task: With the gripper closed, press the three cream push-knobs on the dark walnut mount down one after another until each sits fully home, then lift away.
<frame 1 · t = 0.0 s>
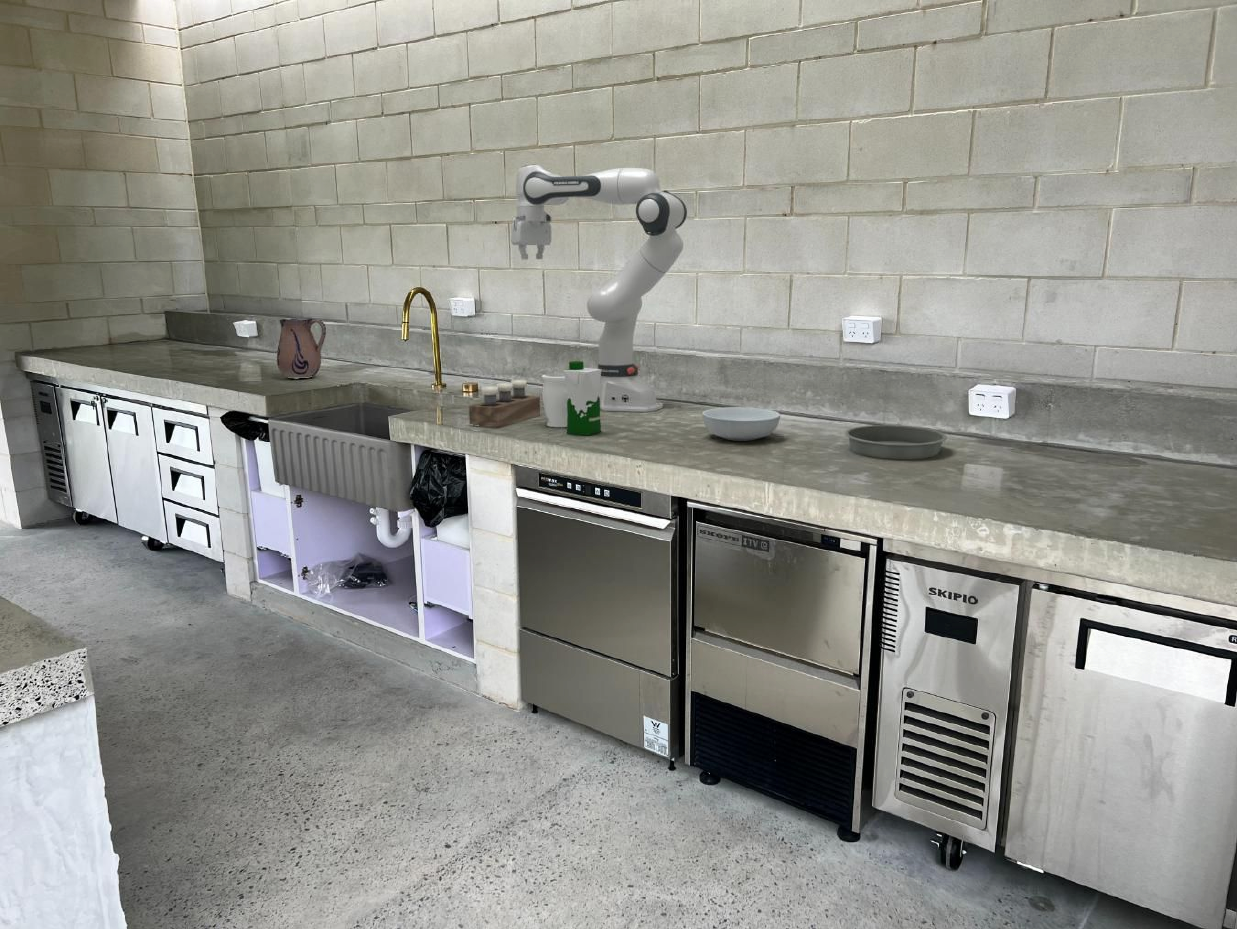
hand: (532, 259, 310), 48 cm above the worktop, tool pointing down, fingers open, 8 cm apart
milk carton: (584, 433, 263), on the worktop
ceramic pitcher: (305, 378, 393), on the worktop
knob middle: (505, 394, 283), point 8 cm above the worktop, slide at 3.0 cm
cake pan: (894, 451, 234), on the worktop
knob 1: (490, 398, 276), point 8 cm above the worktop, slide at 3.0 cm
white cup: (561, 426, 275), on the worktop
serving bowl: (740, 438, 253), on the worktop
knob mount: (506, 420, 285), on the worktop
knob 2: (519, 390, 290), point 8 cm above the worktop, slide at 3.0 cm
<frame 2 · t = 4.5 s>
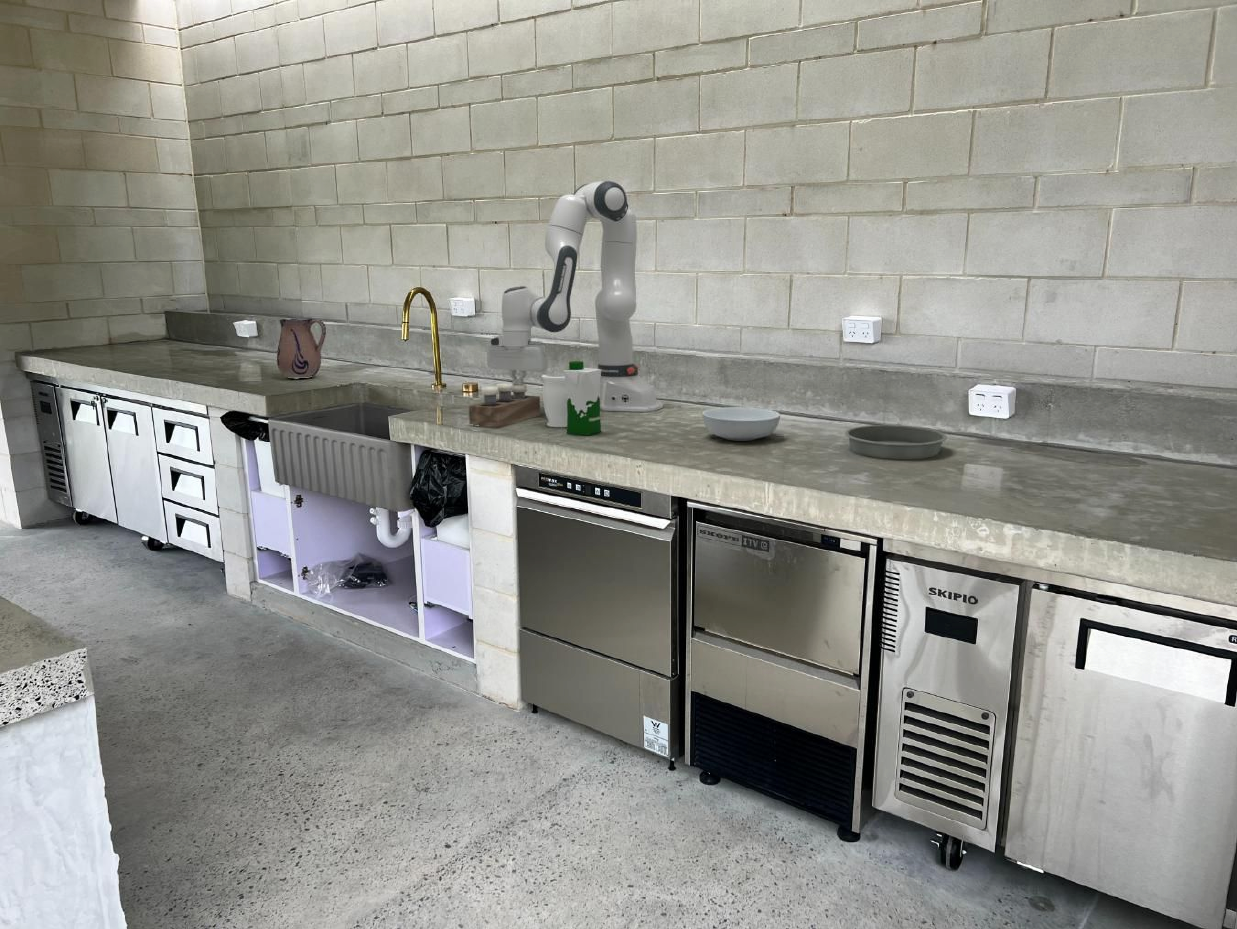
hand: (517, 384, 289), 10 cm above the worktop, tool pointing down, fingers closed
knob 2: (519, 395, 290), point 7 cm above the worktop, slide at 1.6 cm, touching gripper
everything else where it was.
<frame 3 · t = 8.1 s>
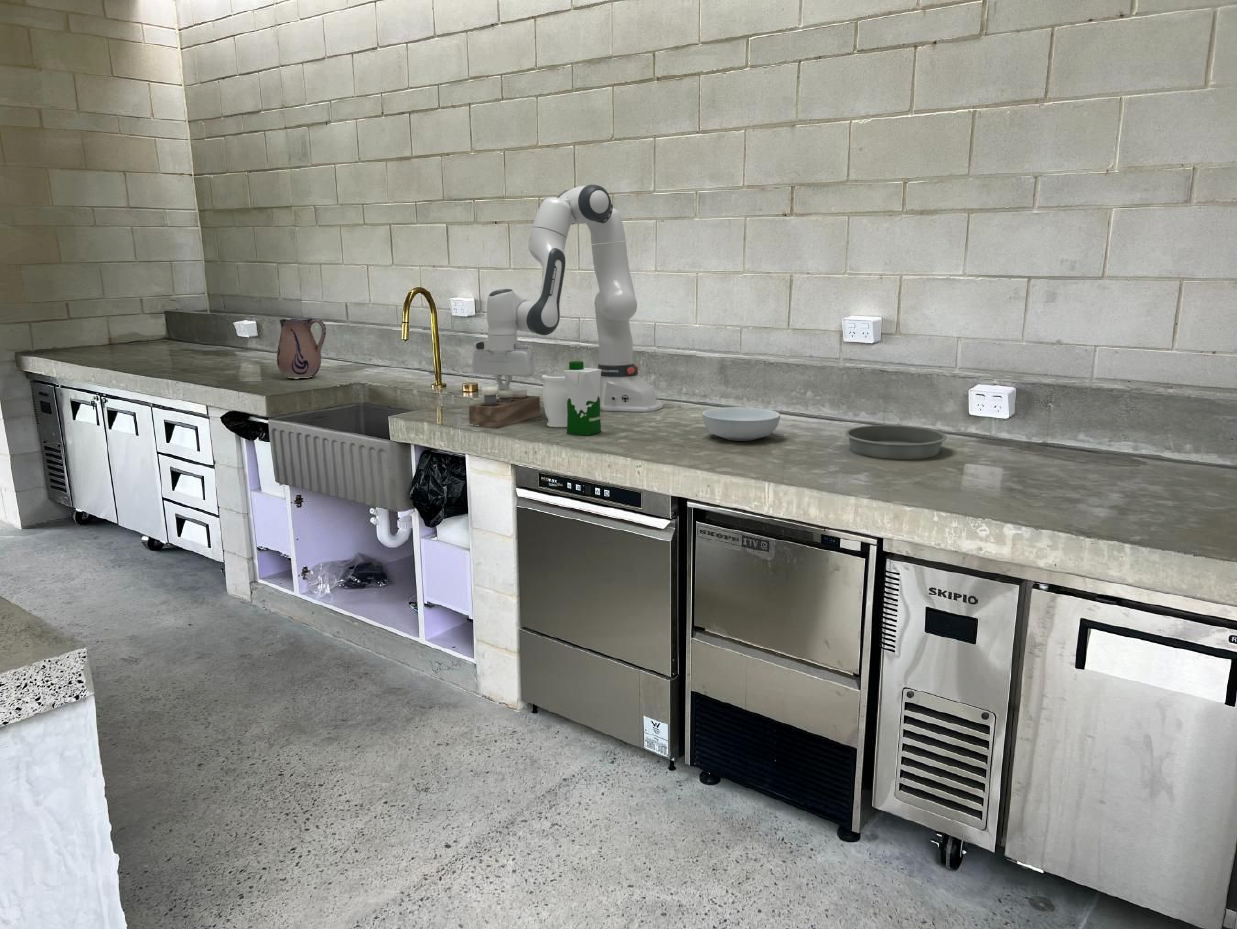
hand: (503, 389, 282), 9 cm above the worktop, tool pointing down, fingers closed
knob middle: (505, 400, 283), point 6 cm above the worktop, slide at 1.1 cm, touching gripper
knob 2: (519, 400, 290), point 5 cm above the worktop, slide at -0.1 cm
everything else where it was.
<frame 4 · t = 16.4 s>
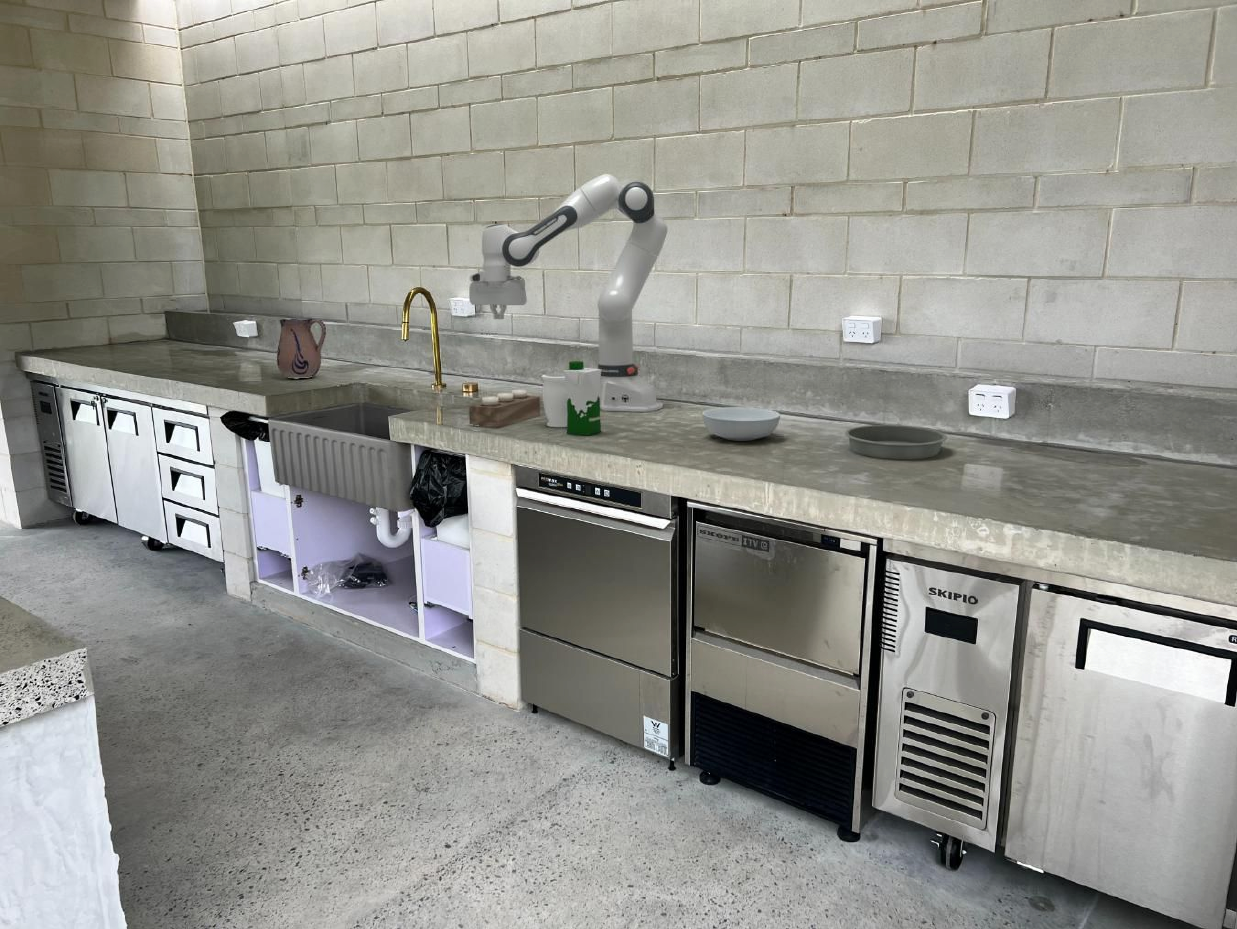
hand: (498, 319, 303), 29 cm above the worktop, tool pointing down, fingers closed
knob middle: (505, 404, 283), point 5 cm above the worktop, slide at -0.1 cm
knob 1: (490, 408, 276), point 5 cm above the worktop, slide at -0.1 cm
everything else where it was.
at the end: knob 2 slide at -0.1 cm; knob middle slide at -0.1 cm; knob 1 slide at -0.1 cm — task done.
